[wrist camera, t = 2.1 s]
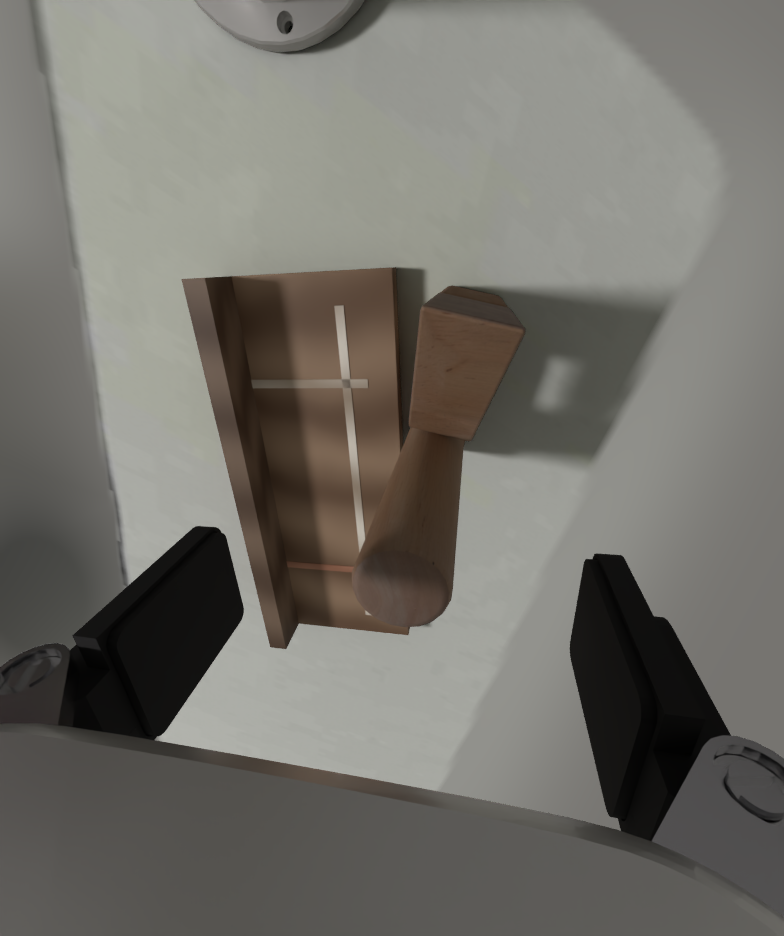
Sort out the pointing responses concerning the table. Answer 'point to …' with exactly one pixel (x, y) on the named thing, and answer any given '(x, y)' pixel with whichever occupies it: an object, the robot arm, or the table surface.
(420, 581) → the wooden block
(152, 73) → the table surface
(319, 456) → the marking board
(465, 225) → the table surface
